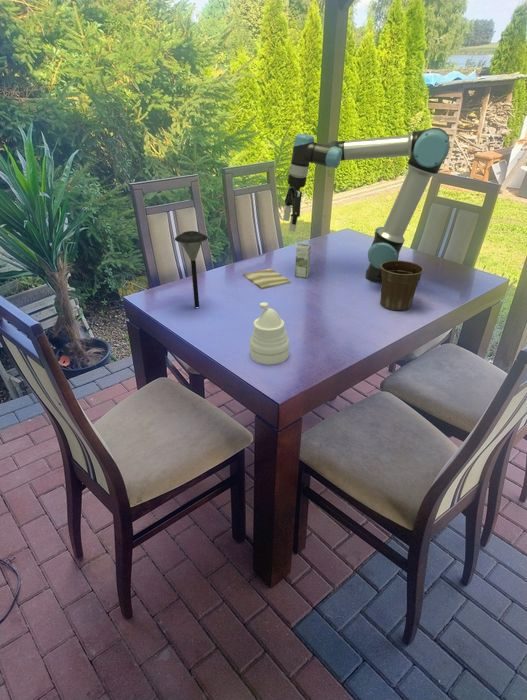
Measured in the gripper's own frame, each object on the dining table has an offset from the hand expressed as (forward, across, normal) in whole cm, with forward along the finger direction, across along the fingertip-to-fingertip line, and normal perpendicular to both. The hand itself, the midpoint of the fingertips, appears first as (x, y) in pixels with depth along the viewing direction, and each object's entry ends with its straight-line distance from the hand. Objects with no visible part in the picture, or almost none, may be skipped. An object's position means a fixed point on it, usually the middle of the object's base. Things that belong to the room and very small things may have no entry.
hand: (288, 225), depth 195 cm
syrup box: (+23, +2, +10) cm, 25 cm away
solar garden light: (+27, +29, -39) cm, 56 cm away
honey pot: (+21, +69, -16) cm, 74 cm away
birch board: (+25, +4, -7) cm, 26 cm away
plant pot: (+16, +38, +40) cm, 58 cm away
